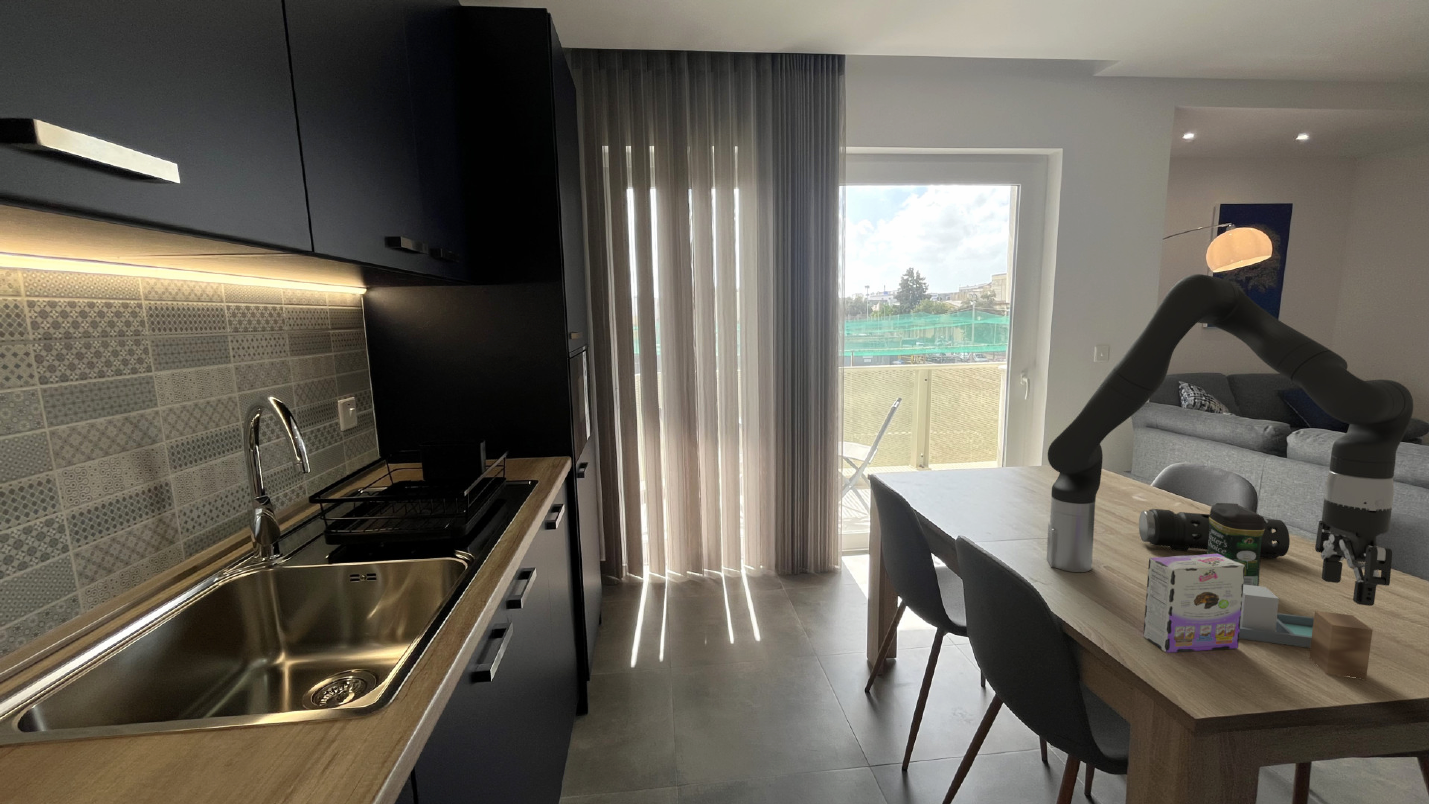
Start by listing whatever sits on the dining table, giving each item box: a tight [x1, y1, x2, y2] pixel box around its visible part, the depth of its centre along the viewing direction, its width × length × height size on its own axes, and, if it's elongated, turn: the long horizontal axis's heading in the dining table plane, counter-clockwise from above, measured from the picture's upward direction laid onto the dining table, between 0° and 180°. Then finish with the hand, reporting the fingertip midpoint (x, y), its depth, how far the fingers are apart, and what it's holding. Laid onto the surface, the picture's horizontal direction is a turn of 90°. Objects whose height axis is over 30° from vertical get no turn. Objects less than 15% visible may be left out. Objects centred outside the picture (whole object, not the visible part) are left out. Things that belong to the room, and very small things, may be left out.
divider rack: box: [1239, 584, 1314, 649], centre depth 109 cm, size 18×9×8 cm, turn 68°
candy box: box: [1143, 554, 1245, 654], centre depth 107 cm, size 14×6×16 cm, turn 92°
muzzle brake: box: [1138, 508, 1291, 560], centre depth 147 cm, size 10×28×10 cm, turn 67°
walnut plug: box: [1308, 610, 1373, 680], centre depth 98 cm, size 5×5×9 cm
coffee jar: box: [1206, 502, 1265, 586], centre depth 128 cm, size 10×8×19 cm
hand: (1346, 592), depth 97 cm, fingers open, 8 cm apart
